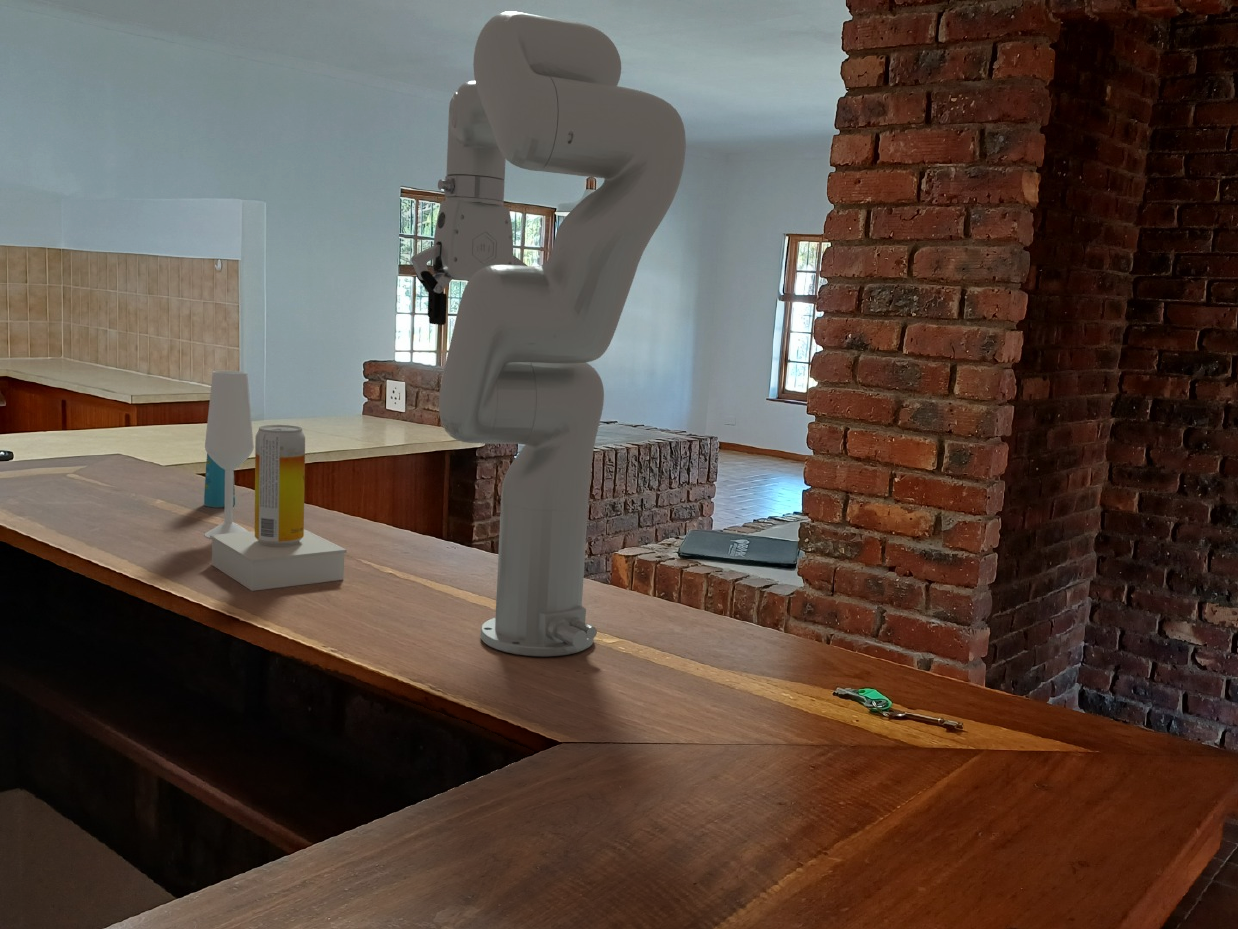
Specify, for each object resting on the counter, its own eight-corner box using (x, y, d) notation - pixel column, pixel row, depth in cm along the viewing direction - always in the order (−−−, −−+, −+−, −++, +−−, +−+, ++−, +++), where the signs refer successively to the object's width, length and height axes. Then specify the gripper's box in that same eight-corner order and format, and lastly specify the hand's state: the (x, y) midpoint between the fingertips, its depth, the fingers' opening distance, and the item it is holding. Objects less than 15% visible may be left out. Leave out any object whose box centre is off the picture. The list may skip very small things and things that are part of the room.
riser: (345, 579, 141) (346, 549, 140) (251, 591, 133) (251, 559, 132) (299, 555, 151) (300, 527, 151) (209, 564, 144) (210, 535, 143)
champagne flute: (202, 539, 157) (203, 372, 153) (206, 529, 163) (207, 369, 159) (251, 539, 158) (253, 375, 155) (253, 529, 165) (255, 371, 161)
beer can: (310, 538, 144) (312, 426, 142) (293, 549, 138) (294, 432, 136) (266, 535, 145) (267, 423, 142) (246, 545, 139) (247, 429, 136)
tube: (201, 501, 183) (201, 387, 180) (231, 500, 185) (232, 387, 182) (207, 510, 176) (208, 391, 173) (238, 509, 178) (240, 392, 176)
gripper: (430, 184, 133) (425, 325, 136) (545, 199, 144) (539, 329, 147) (401, 186, 139) (396, 321, 141) (514, 200, 150) (508, 325, 152)
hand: (469, 325), depth 144 cm, fingers open, 9 cm apart
